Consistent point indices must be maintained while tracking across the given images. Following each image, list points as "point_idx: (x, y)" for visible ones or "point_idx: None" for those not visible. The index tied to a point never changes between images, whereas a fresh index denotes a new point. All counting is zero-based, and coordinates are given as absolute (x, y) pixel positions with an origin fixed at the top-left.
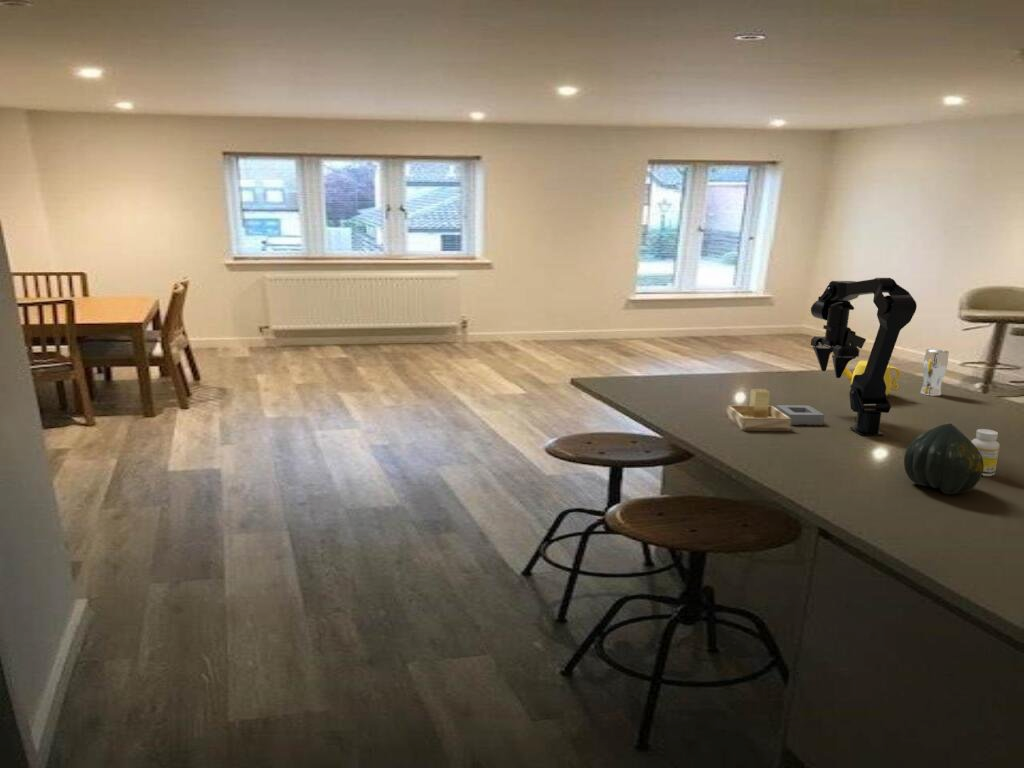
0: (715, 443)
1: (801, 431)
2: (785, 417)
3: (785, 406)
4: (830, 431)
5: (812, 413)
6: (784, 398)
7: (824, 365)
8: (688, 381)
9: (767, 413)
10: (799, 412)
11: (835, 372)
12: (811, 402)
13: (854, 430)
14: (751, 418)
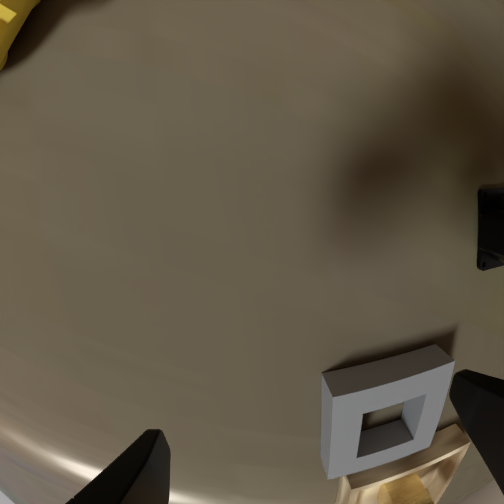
0: (463, 492)
1: None
2: (453, 452)
3: (344, 461)
4: (482, 333)
5: (434, 395)
6: (69, 378)
7: (155, 486)
8: (28, 497)
9: (423, 485)
10: (416, 428)
11: (477, 432)
12: (94, 294)
13: (498, 265)
14: (441, 495)
